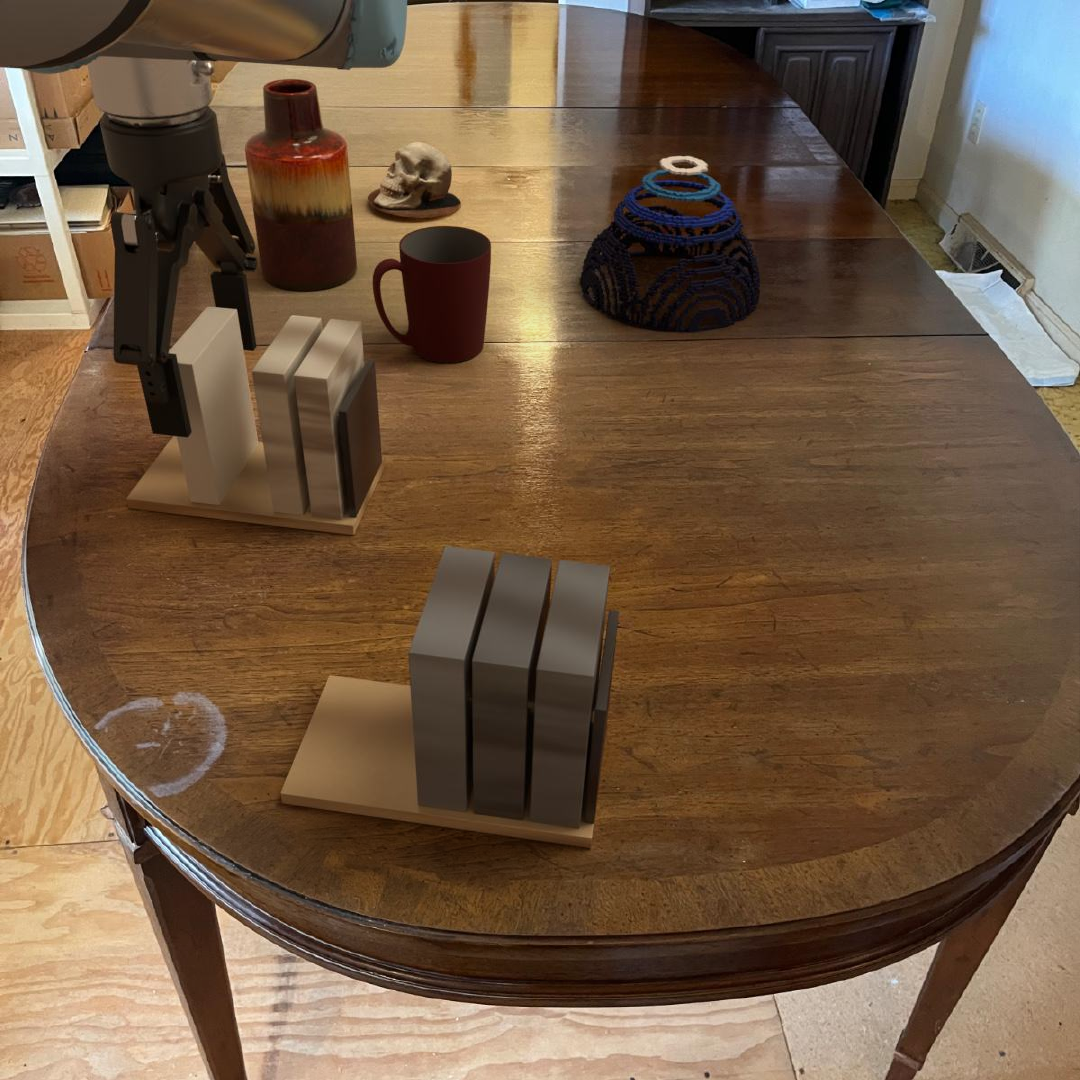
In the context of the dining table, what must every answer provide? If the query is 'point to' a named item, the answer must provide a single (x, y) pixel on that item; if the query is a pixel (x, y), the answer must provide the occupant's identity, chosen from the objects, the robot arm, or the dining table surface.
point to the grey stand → (477, 708)
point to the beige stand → (295, 438)
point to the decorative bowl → (651, 245)
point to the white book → (215, 405)
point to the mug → (441, 291)
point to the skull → (416, 184)
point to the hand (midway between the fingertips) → (208, 387)
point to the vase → (300, 192)
